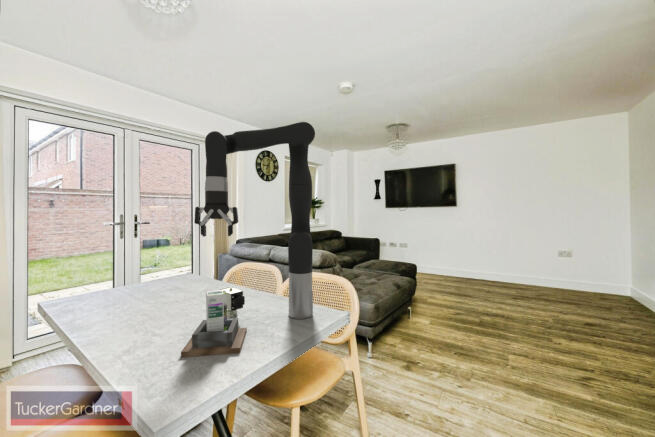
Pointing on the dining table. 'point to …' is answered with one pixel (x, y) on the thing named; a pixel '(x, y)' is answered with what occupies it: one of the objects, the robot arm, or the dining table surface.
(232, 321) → the dock socket
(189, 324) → the dining table surface
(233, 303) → the pneumatic valve
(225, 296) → the syrup box
